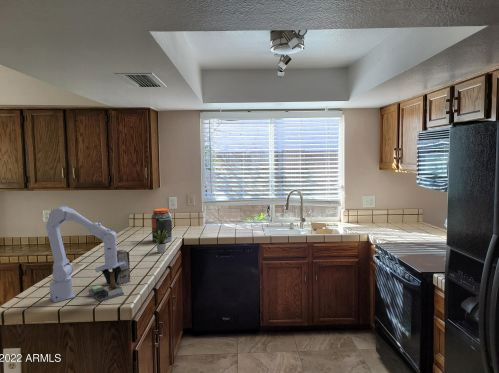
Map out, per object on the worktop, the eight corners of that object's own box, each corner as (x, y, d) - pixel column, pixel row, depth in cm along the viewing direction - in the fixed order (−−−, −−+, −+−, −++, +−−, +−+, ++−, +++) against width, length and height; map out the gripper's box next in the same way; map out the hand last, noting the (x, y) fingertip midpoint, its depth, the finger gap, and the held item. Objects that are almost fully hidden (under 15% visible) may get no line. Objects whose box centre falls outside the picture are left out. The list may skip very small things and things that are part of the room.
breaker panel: (99, 301, 171) (99, 294, 171) (89, 294, 180) (88, 287, 180) (124, 294, 179) (123, 287, 179) (112, 287, 189) (112, 281, 188)
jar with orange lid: (174, 239, 301) (173, 207, 299) (168, 243, 286) (167, 210, 284) (156, 238, 303) (155, 207, 301) (149, 243, 287) (148, 210, 285)
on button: (94, 292, 177) (94, 289, 177) (91, 290, 180) (91, 287, 180) (103, 290, 180) (102, 286, 180) (99, 288, 183) (99, 285, 183)
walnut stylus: (110, 288, 177) (109, 273, 176) (108, 287, 179) (107, 272, 179) (116, 287, 179) (115, 272, 178) (113, 285, 181) (113, 271, 180)
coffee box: (130, 281, 199) (129, 252, 197) (119, 284, 194) (118, 254, 193) (123, 277, 205) (122, 249, 204) (112, 280, 201) (110, 251, 199)
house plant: (166, 255, 250) (165, 232, 249) (147, 254, 253) (146, 231, 252) (174, 250, 264) (173, 228, 263) (156, 249, 267) (156, 227, 266)
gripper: (99, 260, 170) (100, 289, 171) (128, 254, 180) (129, 281, 181) (93, 257, 175) (94, 285, 176) (122, 252, 185) (123, 278, 186)
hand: (111, 283), depth 179 cm, fingers closed on walnut stylus, 3 cm apart
